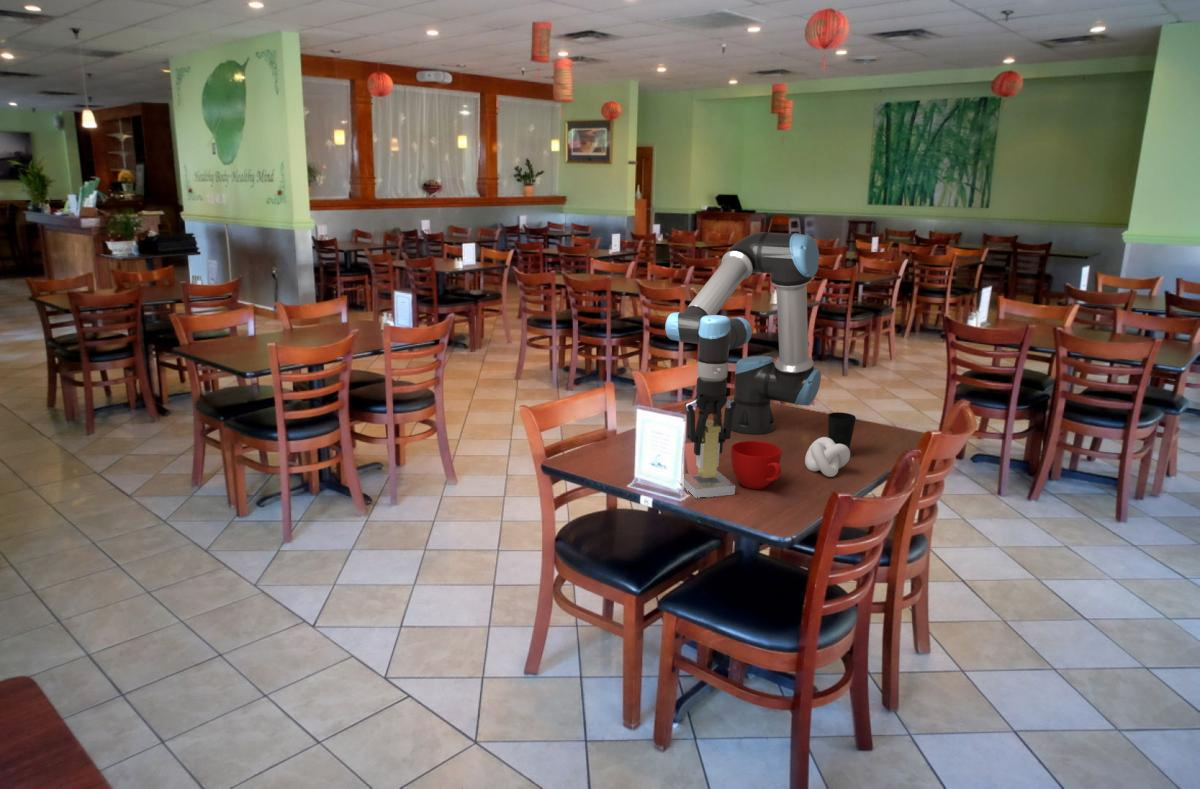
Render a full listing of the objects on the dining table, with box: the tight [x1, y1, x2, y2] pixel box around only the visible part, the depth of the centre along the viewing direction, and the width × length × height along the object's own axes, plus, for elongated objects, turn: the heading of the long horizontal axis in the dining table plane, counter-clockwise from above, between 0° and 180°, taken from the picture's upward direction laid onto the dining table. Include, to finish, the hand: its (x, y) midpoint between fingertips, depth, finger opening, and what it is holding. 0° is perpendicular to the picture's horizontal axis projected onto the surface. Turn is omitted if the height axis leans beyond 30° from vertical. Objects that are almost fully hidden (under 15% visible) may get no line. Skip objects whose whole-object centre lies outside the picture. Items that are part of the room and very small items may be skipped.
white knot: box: [804, 436, 851, 478], centre depth 222 cm, size 11×12×9 cm
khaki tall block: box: [698, 419, 721, 478], centre depth 208 cm, size 6×4×14 cm, turn 16°
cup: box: [827, 411, 857, 456], centre depth 236 cm, size 8×8×12 cm
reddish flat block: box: [683, 442, 698, 473], centre depth 218 cm, size 10×5×2 cm
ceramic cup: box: [730, 440, 782, 490], centre depth 211 cm, size 13×17×10 cm
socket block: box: [683, 470, 736, 499], centre depth 210 cm, size 11×11×2 cm
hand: (707, 465), depth 209 cm, fingers closed on khaki tall block, 4 cm apart
